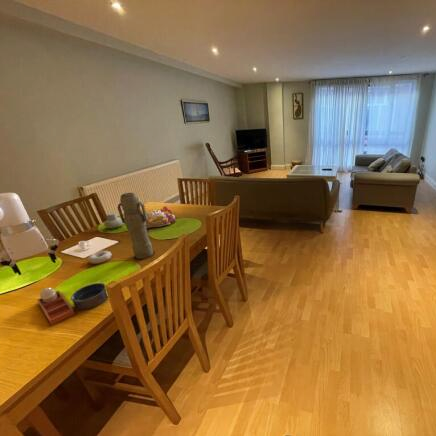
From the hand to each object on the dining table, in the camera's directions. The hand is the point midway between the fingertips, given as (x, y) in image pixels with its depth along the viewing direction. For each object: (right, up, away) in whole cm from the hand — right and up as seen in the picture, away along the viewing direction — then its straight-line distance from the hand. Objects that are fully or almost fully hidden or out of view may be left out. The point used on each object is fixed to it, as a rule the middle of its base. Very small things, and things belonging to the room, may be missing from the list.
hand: (37, 267), depth 92 cm
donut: (-4, -3, +36) cm, 36 cm away
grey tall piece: (+17, -1, +40) cm, 43 cm away
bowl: (+16, -15, +7) cm, 23 cm away
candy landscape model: (+1, +16, +83) cm, 84 cm away
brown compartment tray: (+5, -17, +2) cm, 18 cm away
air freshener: (-25, +13, +75) cm, 80 cm away
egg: (0, -15, +6) cm, 16 cm away
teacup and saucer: (-21, +2, +49) cm, 53 cm away
